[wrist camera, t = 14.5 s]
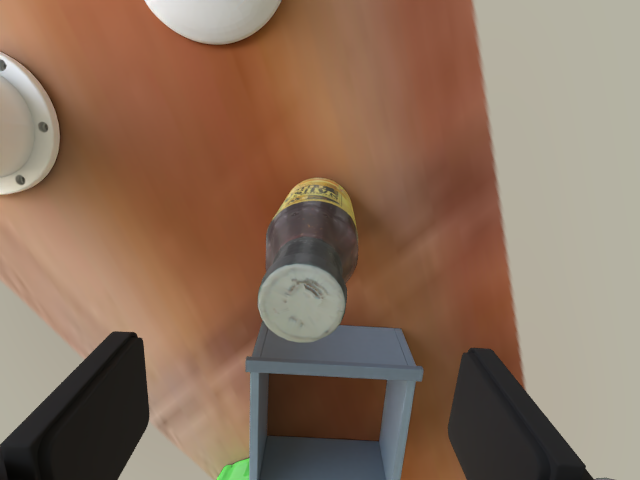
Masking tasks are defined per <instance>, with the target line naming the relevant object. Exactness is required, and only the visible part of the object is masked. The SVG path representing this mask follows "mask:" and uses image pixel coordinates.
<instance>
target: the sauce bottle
mask: <svg viewBox="0 0 640 480" xmlns="http://www.w3.org/2000/svg"><path fill="white" fill-rule="evenodd" d="M357 259H358V233H357V228H356V222H355V217H354V212H353V207H352V203H351V200H350V197H349V195H348V194H347V192H346V191H345V190H344V188H342V187H341V186H340V185H339V184H337V183H336V182H334V181H333V180H331V179H326V178H311V179H307V180H305V181H303V182H301V183H299V184H297V185H296V186H295V187H294V188H293V189H292V190H291V191H290V193H289V194H288V196H287V198H286V199H285V201H284V202H283V204H282V205H281V207H280V209H279V210H278V212H277V213H276V215H275V216H274V218H273V219H272V221H271V223H270V225H269V227H268V229H267V234H266V273H265V275H264V277H263V279H262V282H261V285H260V288H259V292H258V309H259V312H260V316H261V318H262V320H263V321H264V323H265V325H266V326H267V327H268V328H269V329H270V330H271V331H272V332H274V333H275V334H276V335H278V336H280V337H282V338H285V339H286V340H288V341H293V342H299V343H308V342H314V341H317V340H319V339H321V338H323V337H325V336H328V335H330V334H331V333H332V332H333V331H334V330H336V328H337V327H338V326H339V324H340V323H341V321H342V318H343V316H344V314H345V307H346V300H347V288H346V285H345V283H346V282H347V281H348V280H349V279H350V277H351V275H352V274H353V272H354V270H355V268H356V265H357Z"/></svg>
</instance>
